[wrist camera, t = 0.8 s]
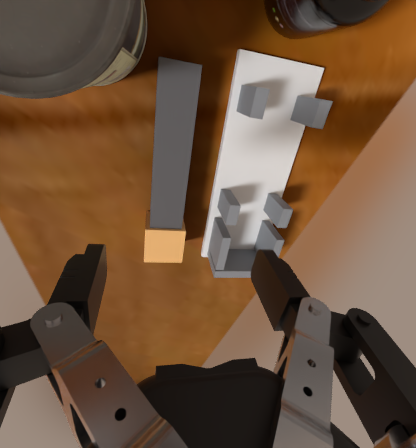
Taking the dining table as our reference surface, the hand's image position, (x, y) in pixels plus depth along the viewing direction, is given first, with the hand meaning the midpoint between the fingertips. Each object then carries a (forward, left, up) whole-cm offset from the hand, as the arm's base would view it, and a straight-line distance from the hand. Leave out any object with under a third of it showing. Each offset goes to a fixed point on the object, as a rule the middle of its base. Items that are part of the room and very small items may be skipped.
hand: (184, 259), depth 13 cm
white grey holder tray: (+1, +10, -17) cm, 20 cm away
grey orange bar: (+1, 0, -18) cm, 17 cm away
